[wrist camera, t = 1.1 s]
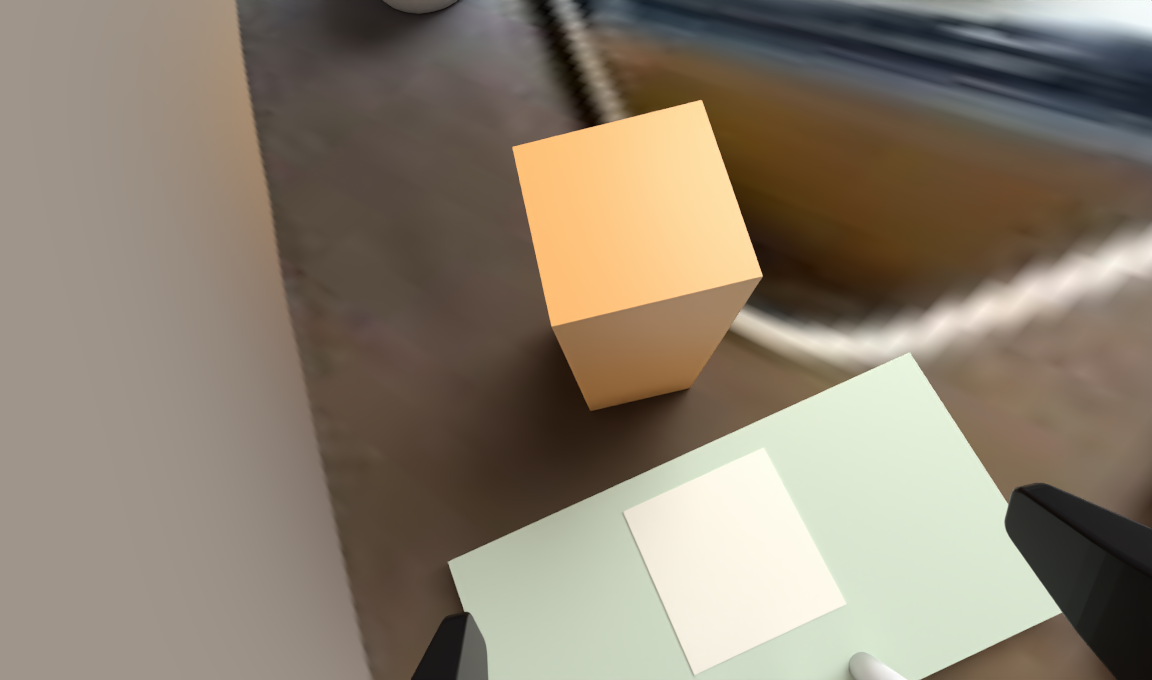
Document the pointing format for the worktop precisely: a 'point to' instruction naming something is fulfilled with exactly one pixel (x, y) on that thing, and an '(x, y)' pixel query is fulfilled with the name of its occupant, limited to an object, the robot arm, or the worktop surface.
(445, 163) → the worktop surface
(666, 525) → the board
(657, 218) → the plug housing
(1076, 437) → the worktop surface
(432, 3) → the cupcake
